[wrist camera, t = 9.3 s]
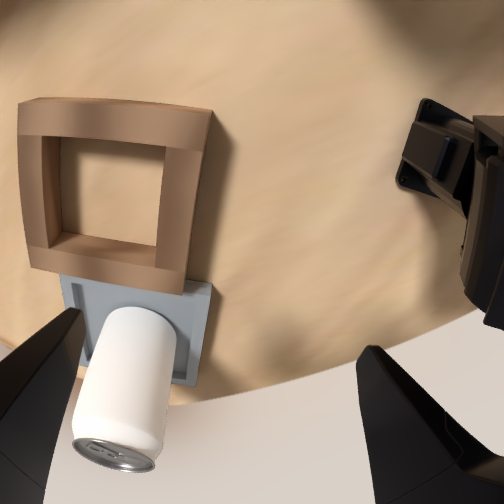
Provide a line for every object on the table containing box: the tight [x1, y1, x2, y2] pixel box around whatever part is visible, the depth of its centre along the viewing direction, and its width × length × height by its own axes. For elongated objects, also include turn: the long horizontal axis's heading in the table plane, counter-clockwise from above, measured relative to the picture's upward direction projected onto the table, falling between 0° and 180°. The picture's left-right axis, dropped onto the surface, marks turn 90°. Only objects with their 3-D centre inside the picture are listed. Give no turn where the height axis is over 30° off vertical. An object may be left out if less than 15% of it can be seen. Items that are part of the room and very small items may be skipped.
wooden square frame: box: [17, 98, 212, 296], centre depth 19 cm, size 12×12×2 cm
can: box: [72, 306, 177, 473], centre depth 21 cm, size 6×6×12 cm
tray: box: [59, 274, 212, 387], centre depth 26 cm, size 12×12×2 cm
